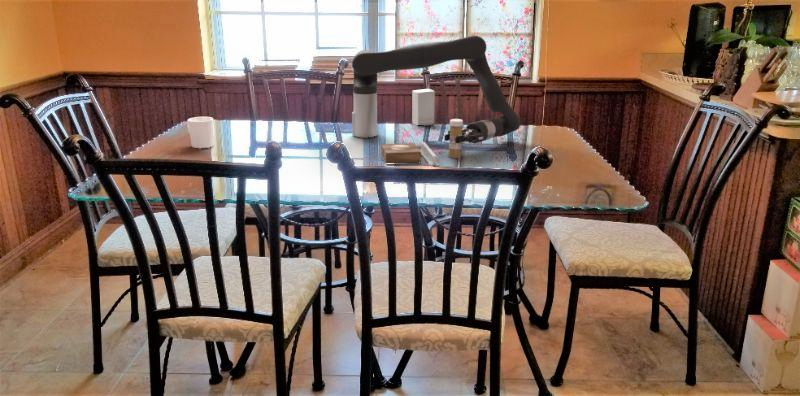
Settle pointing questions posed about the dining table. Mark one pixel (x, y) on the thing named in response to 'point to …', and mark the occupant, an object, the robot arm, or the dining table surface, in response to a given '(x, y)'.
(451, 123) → the sprinkles bottle
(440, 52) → the robot arm
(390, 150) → the walnut block
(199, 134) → the mug
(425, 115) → the skincare box
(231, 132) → the dining table surface
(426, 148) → the divider
